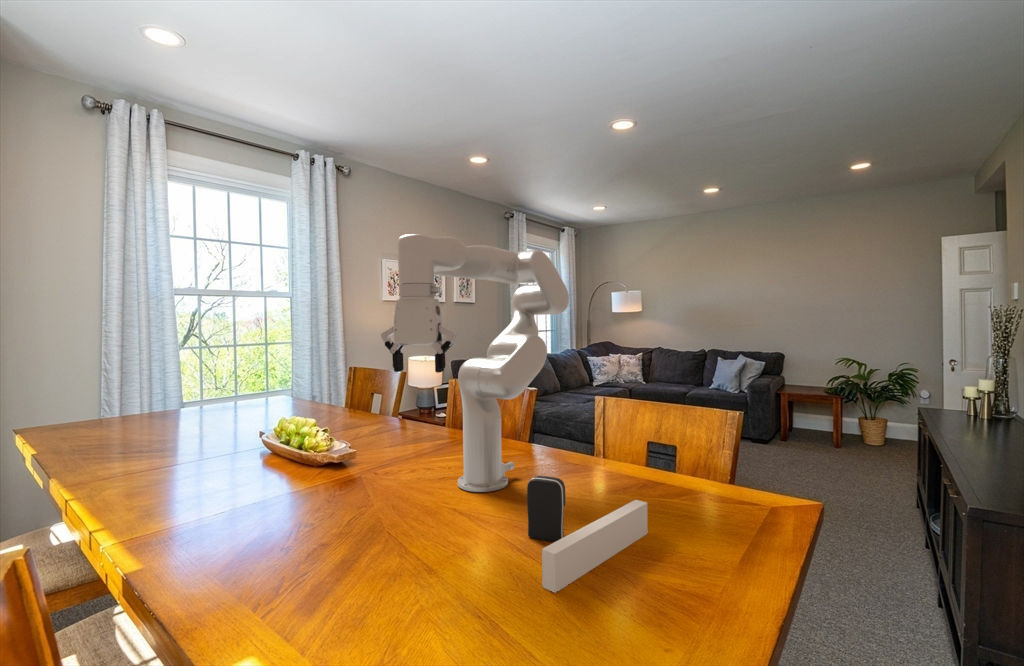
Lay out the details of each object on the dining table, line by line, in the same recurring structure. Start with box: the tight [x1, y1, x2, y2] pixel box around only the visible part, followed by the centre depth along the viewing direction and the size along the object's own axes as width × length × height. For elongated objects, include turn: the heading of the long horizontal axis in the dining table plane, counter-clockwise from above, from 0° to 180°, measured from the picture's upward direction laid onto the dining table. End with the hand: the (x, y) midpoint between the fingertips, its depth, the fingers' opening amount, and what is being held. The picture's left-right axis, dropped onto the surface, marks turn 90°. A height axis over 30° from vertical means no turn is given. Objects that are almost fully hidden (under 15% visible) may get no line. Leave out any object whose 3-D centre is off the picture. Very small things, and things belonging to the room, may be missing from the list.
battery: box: [526, 475, 566, 543], centre depth 95 cm, size 7×4×11 cm, turn 66°
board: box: [541, 499, 649, 594], centre depth 86 cm, size 28×2×6 cm, turn 136°
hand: (419, 371), depth 109 cm, fingers open, 9 cm apart
